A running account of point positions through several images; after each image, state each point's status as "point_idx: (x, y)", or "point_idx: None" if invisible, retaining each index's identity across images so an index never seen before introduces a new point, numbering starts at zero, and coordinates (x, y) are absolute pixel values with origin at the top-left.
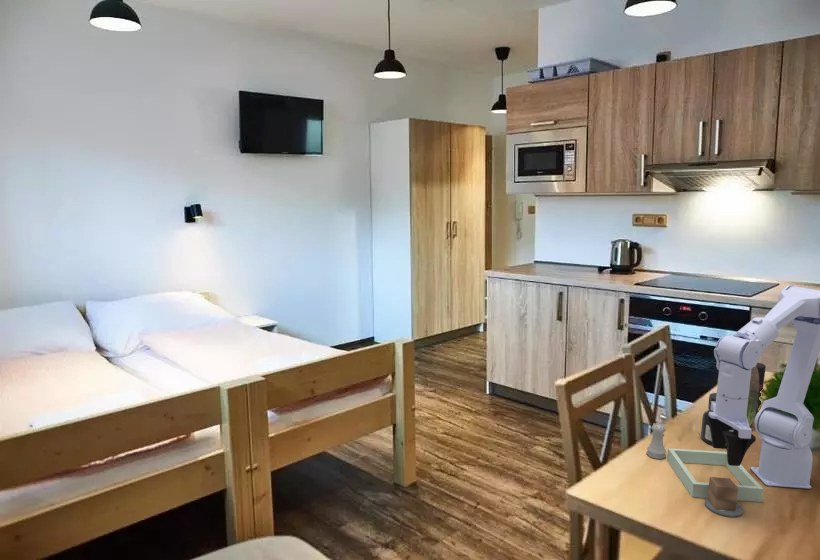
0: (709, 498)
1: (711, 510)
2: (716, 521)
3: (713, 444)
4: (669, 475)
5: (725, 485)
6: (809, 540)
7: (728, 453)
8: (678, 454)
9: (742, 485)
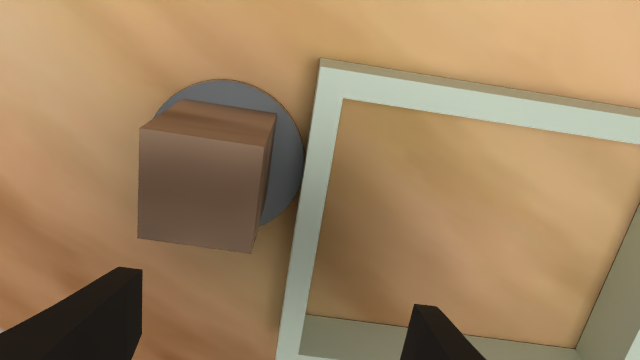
0: (251, 113)
1: (191, 85)
2: (108, 62)
3: (421, 317)
4: (542, 47)
5: (162, 185)
6: None
7: (50, 313)
8: None
9: (302, 303)
